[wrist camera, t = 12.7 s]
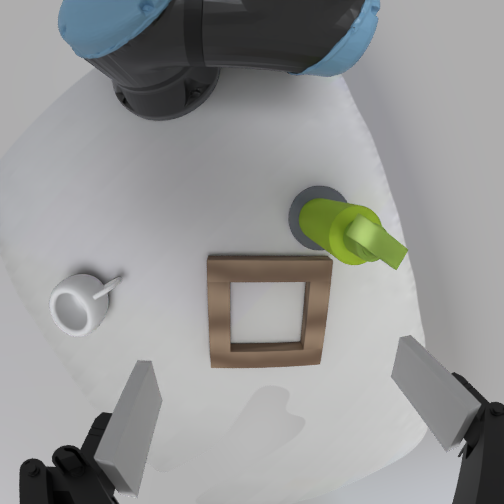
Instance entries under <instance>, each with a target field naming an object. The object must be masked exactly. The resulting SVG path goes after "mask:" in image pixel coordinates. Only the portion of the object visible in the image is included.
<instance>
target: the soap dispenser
mask: <svg viewBox="0 0 504 504" xmlns="http://www.w3.org/2000/svg"><path fill="white" fill-rule="evenodd" d="M299 225H300V228H301V230H302V232H303V233H304V234H305V235H306V236H307V237H308V238H310V239H311V240H313V241H314V242H315V243H317V244H318V245H319V246H321V247H322V248H324V249H325V250H326V251H328V252H329V253H330V254H332V255H333V256H334V257H336V258H337V259H338V260H340V261H341V262H343V263H345V264H349V265H359V264H363V263H365V262H367V261H368V262H374V261H377V260H379V259H381V260H382V261H384V262H385V263H387V264H388V265H389V266H391V267H392V268H393V269H395V270H397V268H398V267H399V265H400V263H401V262H402V260H403V258H404V256H405V255H406V253H407V251H408V249H407V248H405V247H404V246H403V245H402V244H401V243H399V242H398V241H397V240H396V239H394V238H393V237H392V236H391V235H389V234H388V233H387V231H386V230H385V229H384V228H383V227H382V225H381V222H380V220H379V218H378V216H377V215H376V214H375V213H374V212H373V211H372V210H371V209H369V208H367V207H364V206H360V205H355V204H349V203H344V202H339V201H334V200H328V199H322V198H317V199H313V200H310V201H309V202H307V203H306V204H305V205H304V206H303V208H302V209H301V211H300V215H299Z"/></svg>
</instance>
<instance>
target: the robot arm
mask: <svg viewBox="0 0 504 504" xmlns="http://www.w3.org/2000/svg"><path fill="white" fill-rule="evenodd" d="M379 9H380V0H63V2H62V5H61V7H60V11H59V16H58V28H59V32H60V34H61V36H62V38H63V39H64V40H65V41H66V42H67V43H68V44H69V45H70V46H71V47H72V49H73V50H74V52H75V53H76V55H78V56H79V57H81V58H84V59H85V60H86V61H88V62H89V63H91V64H92V65H93V66H95V67H96V68H97V69H99V70H100V71H101V72H103V73H104V74H105V75H107V76H108V77H109V78H110V79H112V83H113V87H114V91H115V94H116V96H117V98H118V99H119V101H120V102H121V103H122V105H123V106H124V107H126V108H127V109H128V110H129V111H131V112H132V113H134V114H136V115H137V116H139V117H142V118H145V119H149V120H169V119H174V118H177V117H180V116H183V115H185V114H187V113H189V112H191V111H193V110H194V109H196V108H197V107H198V106H200V105H201V104H202V103H203V102H204V101H205V100H206V99H207V98H208V97H209V95H210V94H211V93H212V91H213V89H214V88H215V86H216V83H217V81H218V77H219V72H220V67H231V68H251V69H264V70H274V71H284V72H287V73H288V74H291V75H304V74H308V75H316V76H324V77H331V76H334V75H338V74H342V73H344V72H345V71H347V70H348V69H349V68H351V67H352V66H353V65H354V64H355V63H356V62H357V61H358V60H359V59H360V58H361V56H362V55H363V54H364V52H365V50H366V49H367V47H368V45H369V44H370V41H371V39H372V38H373V35H374V33H375V30H376V27H377V23H378V18H377V16H376V13H377V12H378V11H379ZM391 377H392V379H393V380H394V381H395V383H396V384H397V385H398V387H399V388H400V389H401V391H402V392H403V393H404V395H405V396H406V397H407V399H408V400H409V401H410V403H411V404H412V405H413V407H414V408H415V409H416V411H417V412H418V414H419V415H420V416H421V418H422V419H423V420H424V422H425V423H426V424H427V426H428V427H429V429H430V430H431V431H432V433H433V434H434V436H435V437H436V438H437V440H438V441H439V442H440V444H441V445H442V447H443V448H444V450H445V451H446V452H448V451H450V450H452V449H454V448H456V447H458V446H459V445H460V443H461V441H462V439H463V438H464V439H465V440H466V444H465V445H464V447H463V448H462V450H461V452H460V453H459V455H458V457H460V456H461V454H462V453H463V457H462V463H461V468H460V473H459V479H458V483H457V488H456V492H455V495H454V499H453V503H452V504H504V405H503V404H501V403H499V402H491V403H489V402H488V401H487V400H486V399H485V398H484V397H483V396H482V395H481V394H480V393H479V392H478V391H477V390H476V389H475V388H473V386H472V385H471V384H470V383H468V381H467V380H466V379H465V378H464V377H462V376H461V375H459V374H456V373H455V372H454V373H452V374H451V373H450V372H449V371H448V370H447V369H446V368H444V366H442V364H441V363H440V362H438V361H437V360H436V359H435V358H434V357H433V356H432V355H431V354H430V353H429V352H428V351H427V350H426V349H425V348H424V347H423V346H422V345H421V344H420V343H419V342H418V341H416V340H415V339H414V338H413V337H412V336H411V335H409V336H404V337H400V338H399V344H398V349H397V353H396V358H395V362H394V367H393V371H392V375H391ZM161 404H162V398H161V394H160V391H159V387H158V384H157V380H156V376H155V373H154V369H153V365H152V361H139V360H138V361H137V363H136V365H135V367H134V369H133V371H132V373H131V375H130V377H129V379H128V381H127V384H126V386H125V388H124V390H123V392H122V394H121V396H120V399H119V401H118V403H117V405H116V407H115V410H114V412H113V414H112V413H105V412H102V413H101V414H100V415H99V416H98V417H97V418H96V419H95V420H94V423H93V424H92V426H91V429H90V430H89V433H88V435H87V437H86V439H85V441H84V443H83V445H82V447H81V449H78V448H77V447H75V446H71V445H66V446H62V447H60V448H58V449H57V450H56V451H55V452H54V454H53V456H52V462H53V463H54V465H55V466H56V467H46V466H45V465H44V464H43V462H42V461H40V460H38V459H33V458H32V459H28V460H26V461H25V462H23V464H22V465H21V467H20V480H19V481H20V482H19V488H20V489H19V492H20V504H119V503H118V501H117V500H116V498H115V497H114V496H113V494H114V491H115V489H116V490H117V491H118V493H119V494H120V495H125V496H130V497H136V498H137V496H138V493H139V488H140V484H141V480H142V476H143V471H144V467H145V463H146V460H147V456H148V452H149V448H150V444H151V440H152V436H153V433H154V429H155V425H156V422H157V418H158V414H159V411H160V407H161Z"/></svg>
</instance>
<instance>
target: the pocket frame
mask: <svg viewBox="0 0 504 504" xmlns="http://www.w3.org/2000/svg"><path fill="white" fill-rule="evenodd" d="M332 265H333V260H332V259H330V258H329V257H328V256H208V258H207V287H208V316H209V339H210V358H211V368H266V367H289V366H305V365H318V364H320V361H321V355H322V348H323V342H324V335H325V327H326V320H327V312H328V303H329V295H330V285H331V276H332ZM230 282H306V286H305V298H304V309H303V320H302V330H301V340H300V342H285V343H243V344H230Z"/></svg>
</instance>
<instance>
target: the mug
mask: <svg viewBox="0 0 504 504" xmlns="http://www.w3.org/2000/svg"><path fill="white" fill-rule="evenodd" d="M121 281H122V278H121V277H117V278H115V279H113V280H111V281H110V282H108V283H107V284H105V285H103V284H102V282H101V281H100V280H98V279H97V278H96V277H94V276H91V275H88V274H77V275H73V276H70V277H68V278H66V279H64V280H63V281H62V282H60V283H59V284H58V285H57V286H56V287H55V288H54V290H53V291H52V293H51V296H50V300H49V309H50V313H51V316H52V318H53V320H54V322H55V323H56V325H57V326H58V327H59V328H60V329H61V330H62V331H63V332H65V333H66V334H68V335H70V336H73V337H83V336H87V335H89V334H90V333H92V332H93V331H94V330H95V329H96V328H97V327H98V326H99V325H100V324H101V322H102V321H103V319H104V317H105V315H106V313H107V309H108V303H109V300H108V292H109V291H111V290H112V289H113V288H115V287H116V286H117V285H118V284H120V282H121Z"/></svg>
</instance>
